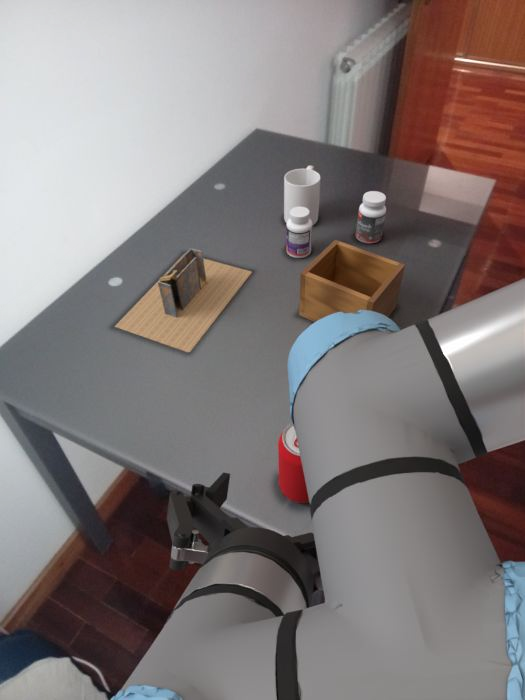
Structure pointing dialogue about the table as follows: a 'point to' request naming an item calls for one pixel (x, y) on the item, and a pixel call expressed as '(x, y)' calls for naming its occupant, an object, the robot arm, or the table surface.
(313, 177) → the mug
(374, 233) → the pill bottle
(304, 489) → the beverage can
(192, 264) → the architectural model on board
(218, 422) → the table surface
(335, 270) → the crate
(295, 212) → the pill bottle
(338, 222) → the table surface
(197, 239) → the table surface
